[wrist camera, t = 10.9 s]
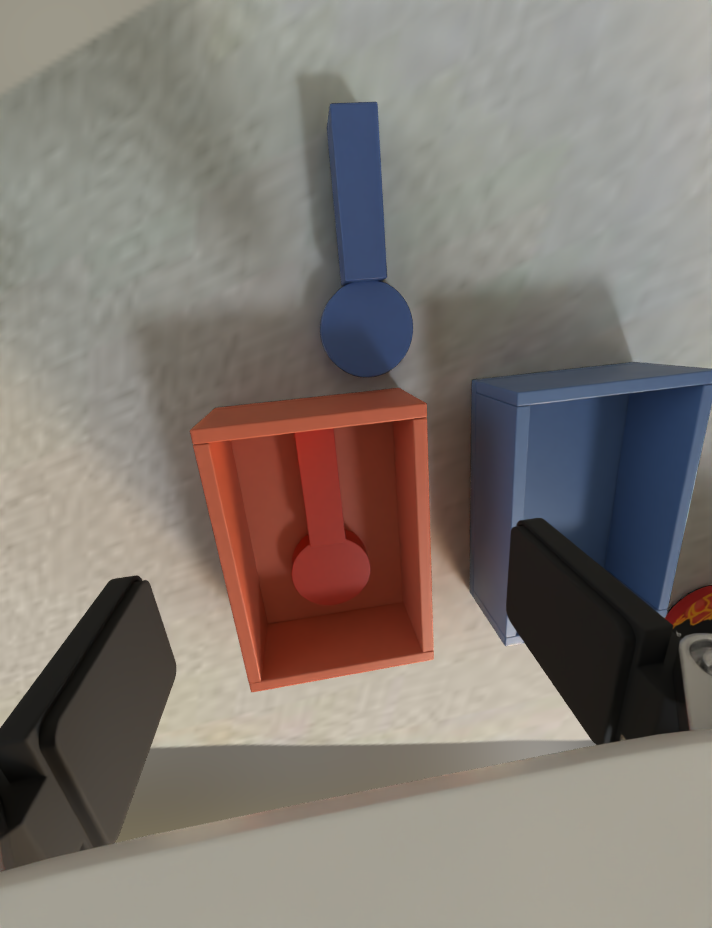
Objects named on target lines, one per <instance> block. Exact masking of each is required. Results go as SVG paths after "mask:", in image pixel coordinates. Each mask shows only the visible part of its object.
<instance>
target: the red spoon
mask: <svg viewBox="0 0 712 928" xmlns="http://www.w3.org/2000/svg"><path fill="white" fill-rule="evenodd" d="M294 437H295V444H296V451H297V458H298V465H299V472H300V479H301V486H302V493H303V500H304V507H305V514H306V521H307V528H308V534H307V535H306V536H305V537H304V538H303V539H302V540H301V541H300V542H299V543H298V544H297V546H296V548H295V550H294V552H293V556H292V572H291V574H292V581H293V584H294V586H295V588H296V590H297V591H298V592H299V594H300V595H301V596H303V597H304V598H305V599H307V600H308V601H310V602H313V603H316V604H320V605H337V604H341V603H344V602H347V601H349V600H351V599H353V598H354V597H355V596H357V595H358V594H359V593H360V592H361V591H362V590H363V589H364V587H365V586H366V584H367V582H368V580H369V576H370V561H369V558H368V554H367V551H366V548H365V546H364V544H363V542H362V541H361V539H360V538H359V537H358V536H357V535H355V534H354V533H352V532H351V531H349V530H346V529H345V528H344V519H343V509H342V500H341V490H340V481H339V472H338V462H337V453H336V443H335V434H334V428H331V429H322V430H314V431H305V432H297V433H294Z"/></svg>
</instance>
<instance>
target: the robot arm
mask: <svg viewBox="0 0 712 928" xmlns="http://www.w3.org/2000/svg"><path fill="white" fill-rule="evenodd" d="M506 612H507V616H508V619H509V621H510V622H511V624H512V625H513V627H514V628H515V630H516V631H517V633H518V634H519V636H520V637H521V638H522V640H523V641H524V643H525V644H526V646H527V647H528V649H529V650H530V651H531V653H532V654H533V656H534V657H535V659H536V660H537V662H538V663H539V664H540V666H541V667H542V669H543V670H544V672H545V673H546V675H547V676H548V678H549V679H550V680H551V682H552V683H553V685H554V686H555V688H556V689H557V691H558V692H559V693H560V695H561V696H562V698H563V699H564V701H565V702H566V704H567V705H568V707H569V708H570V709H571V711H572V712H573V714H574V715H575V717H576V718H577V720H578V721H579V722H580V724H581V725H582V727H583V728H584V730H585V731H586V733H587V734H588V735H589V737H590V738H591V740H592V741H593V742H594V743H595V744H596V745H595V746H589V747H584V748H579V749H573V750H569V751H564V752H559V753H553V754H548V755H543V756H538V757H533V758H527V759H522V760H517V761H512V762H507V763H502V764H497V765H492V766H487V767H481V768H477V769H471V770H466V771H462V772H456V773H452V774H446V775H441V776H436V777H431V778H426V779H421V780H416V781H411V782H407V783H401V784H396V785H391V786H386V787H381V788H376V789H371V790H367V791H362V792H357V793H352V794H347V795H342V796H337V797H332V798H327V799H322V800H317V801H313V802H308V803H303V804H298V805H293V806H288V807H283V808H278V809H274V810H269V811H264V812H259V813H254V814H250V815H245V816H240V817H235V818H230V819H226V820H221V821H216V822H211V823H207V824H202V825H197V826H192V827H188V828H183V829H178V830H173V831H168V832H163V833H159V834H154V835H149V836H145V837H141V838H136V839H132V840H127V841H123V842H119V843H115V842H116V840H117V838H118V836H119V834H120V831H121V828H122V825H123V823H124V820H125V817H126V814H127V811H128V809H129V806H130V803H131V800H132V798H133V795H134V792H135V789H136V786H137V784H138V781H139V778H140V775H141V772H142V770H143V767H144V764H145V761H146V758H147V755H148V753H149V750H150V747H151V744H152V741H153V739H154V736H155V733H156V730H157V727H158V725H159V722H160V719H161V716H162V713H163V711H164V708H165V705H166V702H167V699H168V697H169V694H170V691H171V688H172V685H173V683H174V680H175V676H176V662H175V659H174V656H173V653H172V650H171V647H170V643H169V640H168V637H167V634H166V631H165V628H164V625H163V622H162V619H161V616H160V613H159V610H158V607H157V604H156V601H155V598H154V595H153V592H152V589H151V586H150V583H149V582H148V581H146V580H144V581H142V579H141V578H140V577H139V576H130V577H123V578H116V579H112V580H110V581H109V582H108V583H107V585H106V586H105V588H104V589H103V590H102V592H101V593H100V594H99V596H98V597H97V598H96V600H95V601H94V602H93V604H92V605H91V606H90V608H89V609H88V610H87V612H86V613H85V615H84V616H83V617H82V619H81V620H80V621H79V623H78V624H77V625H76V627H75V628H74V629H73V631H72V632H71V633H70V635H69V636H68V637H67V639H66V640H65V641H64V643H63V644H62V646H61V647H60V648H59V650H58V651H57V652H56V654H55V655H54V656H53V658H52V659H51V660H50V662H49V663H48V664H47V666H46V667H45V668H44V670H43V671H42V672H41V674H40V675H39V677H38V678H37V679H36V681H35V682H34V683H33V685H32V686H31V687H30V689H29V690H28V691H27V693H26V694H25V695H24V697H23V698H22V699H21V701H20V702H19V704H18V705H17V706H16V708H15V709H14V710H13V712H12V713H11V714H10V716H9V717H8V718H7V720H6V721H5V722H4V724H3V725H2V726H1V728H0V928H712V634H709V633H694V634H690V635H686V636H685V637H684V638H683V639H681V638H680V637H678V636H677V635H676V634H675V633H674V632H673V631H672V629H673V625H672V624H671V623H670V622H669V621H667V620H666V619H665V618H664V617H662V616H661V615H660V614H659V613H658V612H656V611H655V610H654V609H653V608H652V607H650V606H649V605H648V604H647V603H645V602H644V601H643V600H642V599H641V598H639V597H638V596H637V595H636V594H634V593H633V592H632V591H631V590H630V589H628V588H627V587H626V586H625V585H624V584H622V583H621V582H620V581H619V580H617V579H616V578H615V577H614V576H613V575H611V574H610V573H609V572H608V571H606V570H605V569H604V568H603V567H602V566H600V565H599V564H598V563H597V562H595V561H594V560H593V559H592V558H591V557H589V556H588V555H587V554H586V553H585V552H583V551H582V550H581V549H580V548H578V547H577V546H576V545H575V544H574V543H572V542H571V541H570V540H569V539H567V538H566V537H565V536H564V535H563V534H561V533H560V532H559V531H558V530H557V529H555V528H554V527H553V526H552V525H550V524H549V523H548V522H547V521H546V520H544V519H543V518H533V519H526V520H520V521H518V522H517V524H516V527H513V528H512V529H511V536H510V552H509V567H508V583H507V598H506Z"/></svg>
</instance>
